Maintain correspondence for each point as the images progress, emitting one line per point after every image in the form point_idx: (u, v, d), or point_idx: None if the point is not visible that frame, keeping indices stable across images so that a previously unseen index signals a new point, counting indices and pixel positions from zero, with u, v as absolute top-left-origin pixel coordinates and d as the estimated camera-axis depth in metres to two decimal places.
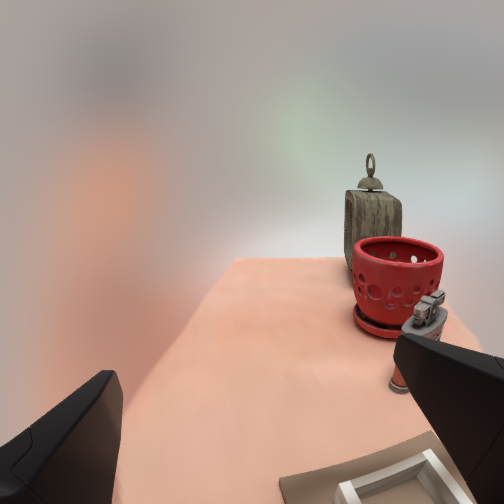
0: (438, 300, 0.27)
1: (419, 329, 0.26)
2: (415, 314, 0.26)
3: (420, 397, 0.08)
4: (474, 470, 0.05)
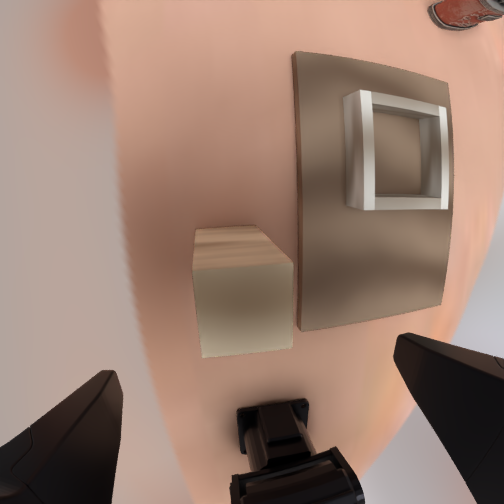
0: None
1: None
2: None
3: (420, 397, 0.08)
4: (474, 470, 0.05)
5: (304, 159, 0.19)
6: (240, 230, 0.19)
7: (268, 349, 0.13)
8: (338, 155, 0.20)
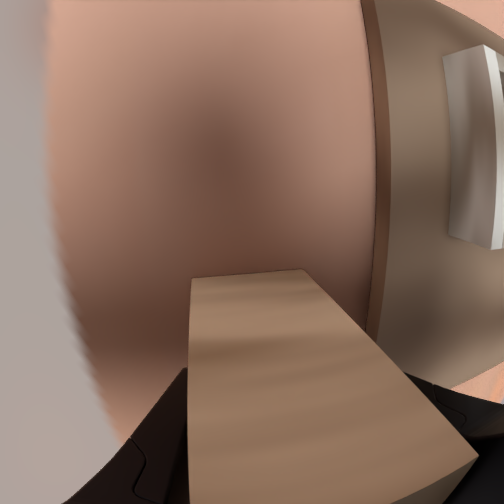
0: None
1: None
2: None
3: None
4: None
5: (395, 153, 0.10)
6: (281, 287, 0.10)
7: None
8: (441, 149, 0.10)
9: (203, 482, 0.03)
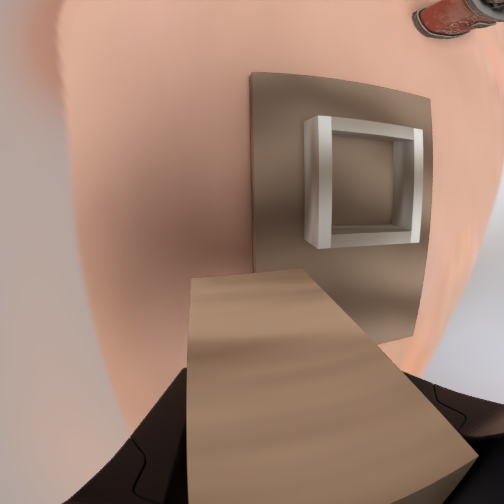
0: None
1: (483, 4, 0.11)
2: None
3: None
4: None
5: (258, 192, 0.19)
6: (280, 287, 0.10)
7: None
8: (296, 186, 0.19)
9: (202, 482, 0.03)
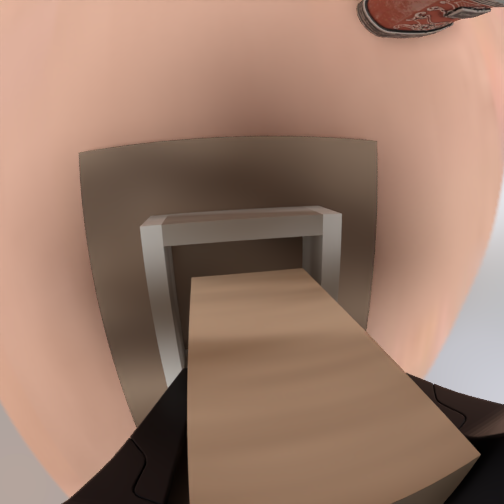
0: None
1: None
2: None
3: None
4: None
5: (104, 313, 0.14)
6: (281, 287, 0.10)
7: None
8: (149, 304, 0.14)
9: (203, 482, 0.03)
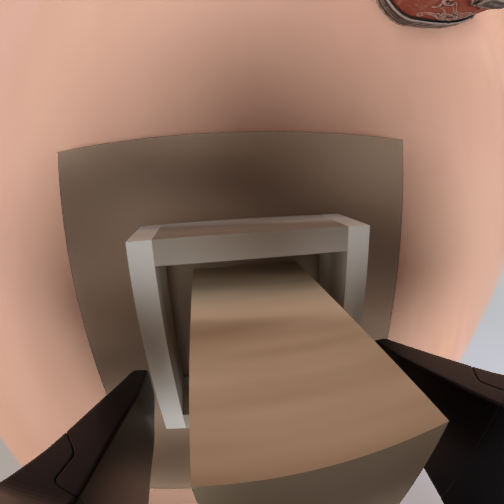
0: None
1: None
2: None
3: None
4: (449, 486, 0.05)
5: (91, 337, 0.12)
6: (275, 277, 0.11)
7: None
8: None
9: (202, 434, 0.04)
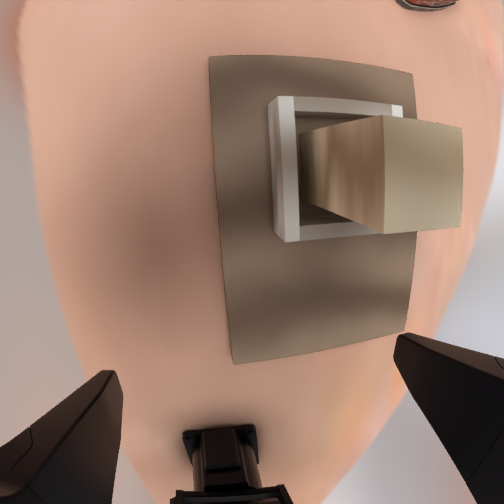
0: None
1: None
2: None
3: (420, 397, 0.08)
4: (474, 470, 0.05)
5: (220, 184, 0.17)
6: None
7: (442, 226, 0.10)
8: (261, 174, 0.18)
9: None
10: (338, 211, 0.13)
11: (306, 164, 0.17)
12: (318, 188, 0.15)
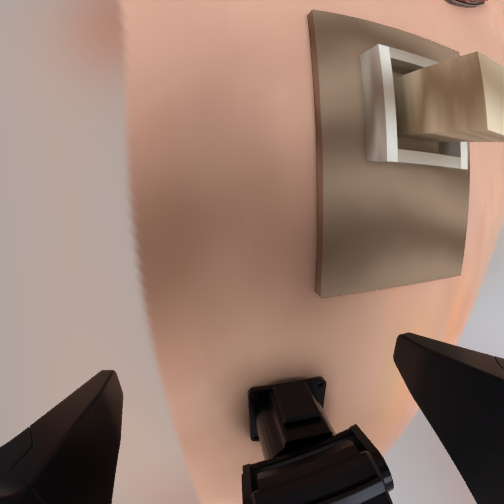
0: None
1: None
2: None
3: (420, 397, 0.08)
4: (474, 470, 0.05)
5: (324, 111, 0.18)
6: None
7: None
8: (357, 109, 0.18)
9: (466, 56, 0.10)
10: (437, 129, 0.14)
11: None
12: (411, 119, 0.16)
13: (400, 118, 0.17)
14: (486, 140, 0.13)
